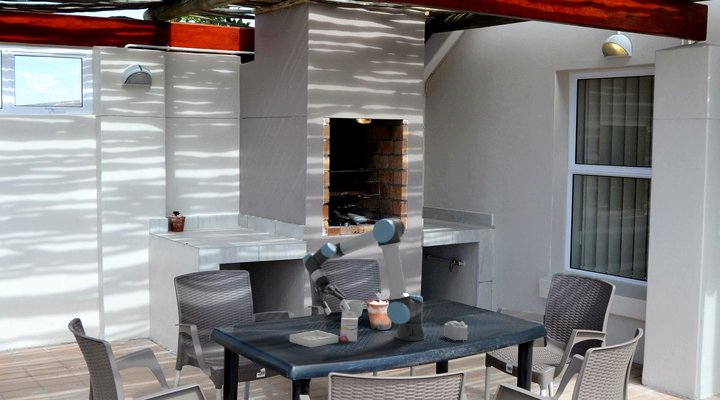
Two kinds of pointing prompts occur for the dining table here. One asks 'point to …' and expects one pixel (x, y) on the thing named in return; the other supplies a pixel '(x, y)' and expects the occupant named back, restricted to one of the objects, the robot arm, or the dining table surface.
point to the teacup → (354, 307)
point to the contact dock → (313, 338)
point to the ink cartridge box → (349, 326)
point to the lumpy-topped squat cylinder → (455, 330)
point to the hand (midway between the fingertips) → (339, 311)
